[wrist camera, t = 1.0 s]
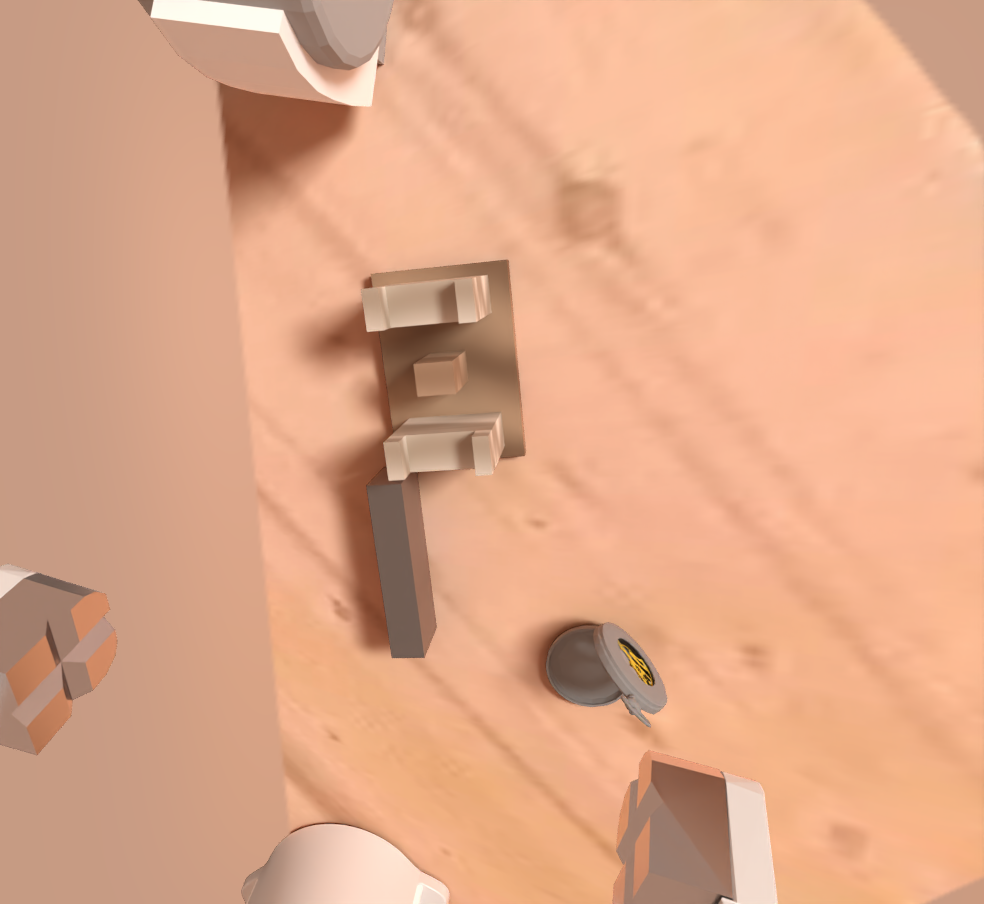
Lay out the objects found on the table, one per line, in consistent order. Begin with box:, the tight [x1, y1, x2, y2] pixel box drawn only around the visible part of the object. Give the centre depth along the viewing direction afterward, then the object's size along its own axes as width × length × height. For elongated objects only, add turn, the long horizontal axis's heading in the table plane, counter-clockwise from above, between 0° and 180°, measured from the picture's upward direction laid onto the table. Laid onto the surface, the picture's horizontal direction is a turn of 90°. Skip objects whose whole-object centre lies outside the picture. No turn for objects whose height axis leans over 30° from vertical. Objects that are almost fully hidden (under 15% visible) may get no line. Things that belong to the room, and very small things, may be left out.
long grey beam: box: [366, 467, 437, 658], centre depth 50 cm, size 13×2×4 cm, turn 5°
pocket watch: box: [546, 622, 667, 727], centre depth 47 cm, size 8×8×10 cm
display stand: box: [361, 260, 526, 481], centre depth 44 cm, size 13×9×8 cm
